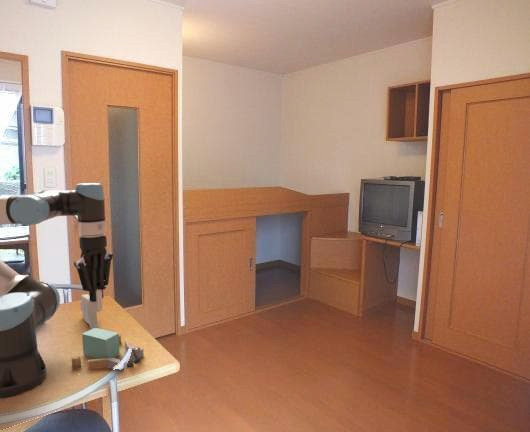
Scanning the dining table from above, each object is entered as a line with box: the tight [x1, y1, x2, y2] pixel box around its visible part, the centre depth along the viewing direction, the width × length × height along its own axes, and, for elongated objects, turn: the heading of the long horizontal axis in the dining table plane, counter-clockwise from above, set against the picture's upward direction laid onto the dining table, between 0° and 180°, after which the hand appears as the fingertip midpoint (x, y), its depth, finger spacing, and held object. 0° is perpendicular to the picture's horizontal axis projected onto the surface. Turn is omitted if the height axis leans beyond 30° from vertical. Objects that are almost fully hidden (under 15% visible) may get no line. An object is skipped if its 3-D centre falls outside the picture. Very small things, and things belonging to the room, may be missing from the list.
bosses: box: [125, 346, 142, 369], centre depth 117 cm, size 5×2×4 cm, turn 155°
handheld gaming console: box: [79, 293, 99, 330], centre depth 147 cm, size 11×3×15 cm
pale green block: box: [81, 327, 121, 359], centre depth 122 cm, size 5×10×7 cm, turn 65°
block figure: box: [71, 334, 145, 370], centre depth 120 cm, size 18×15×2 cm
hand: (97, 310), depth 121 cm, fingers closed
